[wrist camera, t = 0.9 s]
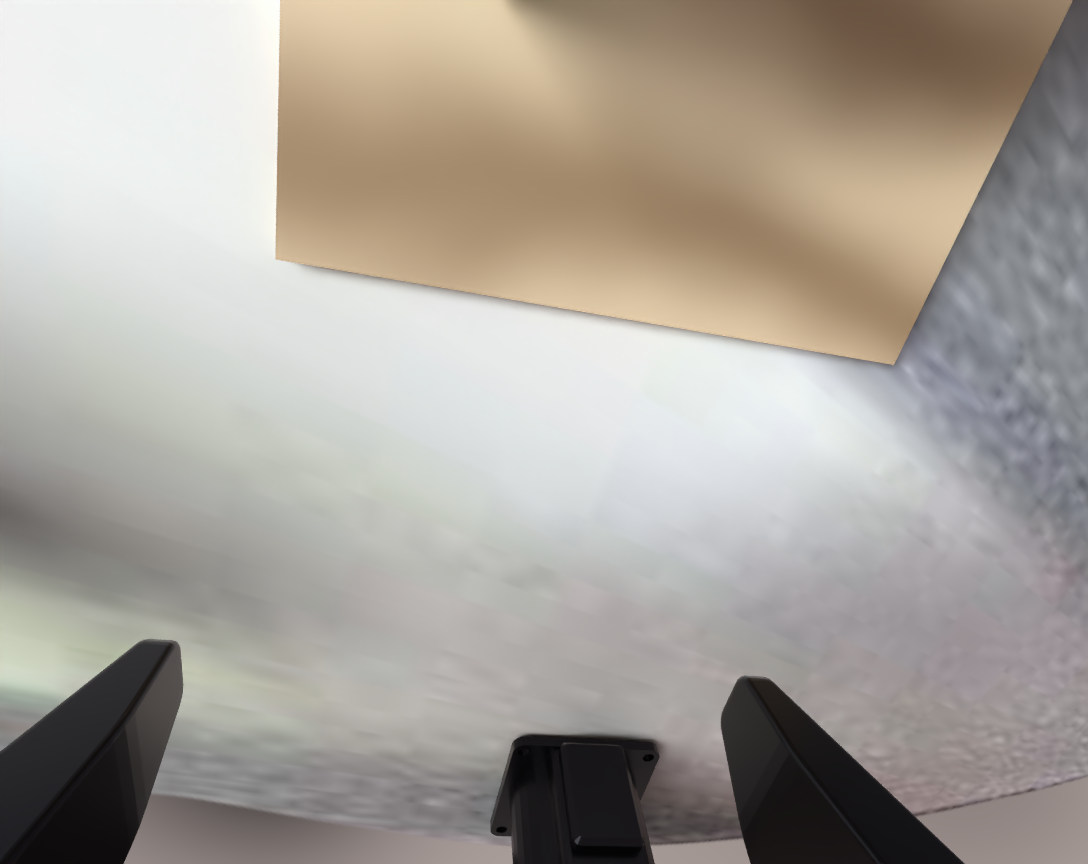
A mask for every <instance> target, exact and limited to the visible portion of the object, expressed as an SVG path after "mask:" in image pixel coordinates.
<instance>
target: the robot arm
mask: <svg viewBox="0 0 1088 864" xmlns="http://www.w3.org/2000/svg"><path fill="white" fill-rule="evenodd" d="M182 693H183V675H182V662H181V650H180V646H179V644H178V643H177V642H176V641H172V640H156V639H146V640H143V641H140V642H139V643H137V644H136V645H134V646H133V647H132V648H131V649H129V650H128V651H127V652H126V653H124V654H123V655H122V656H121V657H119V658H118V659H117V660H116V661H114V662H113V663H112V664H110V665H109V666H108V667H107V668H105V669H104V670H103V671H102V672H100V673H99V674H98V675H97V676H95V677H94V678H93V679H91V680H90V681H89V682H88V683H86V684H85V685H84V686H83V687H81V688H80V689H79V690H78V691H76V692H75V693H74V694H72V695H71V696H70V697H69V698H67V699H66V700H65V701H64V702H62V703H61V704H60V705H59V706H57V707H56V708H55V709H54V710H52V711H51V712H50V713H48V714H47V715H46V716H45V717H43V718H42V719H41V720H40V721H38V722H37V723H36V724H35V725H33V726H32V727H31V728H29V729H28V730H27V731H26V732H24V733H23V734H22V735H21V736H19V737H18V738H17V739H16V740H14V741H13V742H12V743H11V744H9V745H8V746H7V747H5V748H4V749H3V750H2V751H0V864H124V861H125V859H126V857H127V855H128V852H129V850H130V848H131V846H132V843H133V841H134V838H135V836H136V834H137V831H138V829H139V826H140V824H141V821H142V818H143V815H144V812H145V809H146V806H147V803H148V800H149V797H150V794H151V791H152V788H153V785H154V782H155V779H156V776H157V773H158V770H159V767H160V764H161V761H162V758H163V755H164V752H165V749H166V746H167V743H168V740H169V736H170V733H171V730H172V727H173V724H174V721H175V718H176V715H177V712H178V709H179V706H180V703H181V698H182ZM721 730H722V735H723V740H724V745H725V751H726V756H727V761H728V766H729V771H730V776H731V781H732V786H733V791H734V797H735V802H736V807H737V812H738V817H739V822H740V826H741V830H742V835H743V839H744V842H745V846H746V849H747V853H748V856H749V859H750V863H751V864H964V863H963V862H962V861H961V860H960V859H959V858H958V857H957V856H956V855H955V854H954V853H953V852H952V851H951V850H950V849H949V848H947V846H945V845H944V844H943V843H942V842H941V841H940V840H939V839H938V838H937V837H936V836H935V835H934V834H933V833H932V832H931V831H930V830H928V828H926V827H925V826H924V825H923V824H922V823H921V822H920V821H919V820H918V819H917V818H916V817H915V816H914V815H913V814H912V813H911V812H910V811H909V810H908V809H906V808H905V807H904V806H903V805H902V804H901V803H900V802H899V801H898V800H897V799H896V798H895V797H894V796H893V795H892V794H891V793H890V792H889V791H888V790H886V789H885V788H884V787H883V786H882V785H881V784H880V783H879V782H878V781H877V780H876V779H875V778H874V777H873V776H872V775H871V774H870V773H869V772H867V771H866V770H865V769H864V768H863V767H862V766H861V765H860V764H859V763H858V762H857V761H856V760H855V759H854V758H853V757H852V756H851V755H850V754H849V753H847V752H846V751H845V750H844V749H843V748H842V747H841V746H840V745H839V744H838V743H837V742H836V741H835V740H834V739H833V738H832V737H831V736H830V735H829V734H827V733H826V732H825V731H824V730H823V729H822V728H821V727H820V726H819V725H818V724H817V723H816V722H815V721H814V720H813V719H812V718H811V717H810V716H808V715H807V714H806V713H805V712H804V711H803V710H802V709H801V708H800V707H799V706H798V705H797V704H796V703H795V702H794V701H793V700H792V699H791V698H790V697H788V696H787V695H786V694H785V693H784V692H783V691H782V690H781V689H780V688H779V687H778V686H777V685H776V684H775V683H774V682H772V681H771V680H770V679H768V678H766V677H758V676H742V677H740V678H739V679H738V680H737V682H736V684H735V686H734V688H733V690H732V692H731V694H730V696H729V698H728V701H727V703H726V705H725V707H724V709H723V712H722V716H721ZM658 760H659V752H658V748H657V746H656V744H654V743H651V742H634V741H613V740H591V739H569V738H547V737H520V738H517V739H516V740H514V742H513V743H512V746H511V750H510V753H509V757H508V761H507V764H506V768H505V771H504V775H503V778H502V782H501V785H500V789H499V792H498V796H497V800H496V803H495V807H494V810H493V814H492V817H491V833H492V834H494V835H496V836H511V839H512V855H513V864H655V863H654V859H653V855H652V850H651V846H650V842H649V837H648V833H647V829H646V825H645V820H644V816H643V812H642V808H641V803H640V800H641V798H642V795H643V793H644V791H645V789H646V786H647V784H648V782H649V780H650V777H651V775H652V773H653V771H654V769H655V766H656V764H657V762H658Z"/></svg>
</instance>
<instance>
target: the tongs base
mask: <svg viewBox="0 0 1088 864" xmlns="http://www.w3.org/2000/svg"><path fill="white" fill-rule="evenodd" d="M1072 1H1073V0H280V45H279V99H278V153H277V207H276V260H282V261H288V262H294V263H300V264H306V265H312V266H317V267H323V268H329V269H335V270H341V271H347V272H353V273H358V274H364V275H370V276H376V277H382V278H388V279H394V280H399V281H405V282H411V283H417V284H423V285H429V286H435V287H440V288H446V289H452V290H458V291H464V292H470V293H476V294H481V295H487V296H493V297H499V298H505V299H511V300H517V301H522V302H528V303H534V304H540V305H546V306H552V307H558V308H563V309H569V310H575V311H581V312H587V313H593V314H598V315H604V316H610V317H616V318H622V319H628V320H634V321H639V322H645V323H651V324H657V325H663V326H669V327H675V328H680V329H686V330H692V331H698V332H704V333H710V334H716V335H721V336H727V337H733V338H739V339H745V340H751V341H757V342H762V343H768V344H774V345H780V346H786V347H792V348H798V349H803V350H809V351H815V352H821V353H827V354H833V355H839V356H844V357H850V358H856V359H862V360H868V361H874V362H879V363H885V364H891V365H894V364H895V362H896V360H897V358H898V355H899V353H900V351H901V349H902V347H903V345H904V343H905V341H906V339H907V337H908V335H909V333H910V331H911V329H912V327H913V325H914V323H915V321H916V319H917V317H918V315H919V313H920V311H921V309H922V307H923V305H924V303H925V301H926V298H927V296H928V294H929V292H930V290H931V288H932V286H933V284H934V282H935V280H936V278H937V276H938V274H939V272H940V270H941V268H942V266H943V264H944V262H945V260H946V258H947V256H948V254H949V252H950V250H951V248H952V246H953V244H954V242H955V239H956V237H957V235H958V233H959V231H960V229H961V227H962V225H963V223H964V221H965V219H966V217H967V215H968V213H969V211H970V209H971V207H972V205H973V203H974V201H975V199H976V197H977V195H978V193H979V191H980V189H981V187H982V185H983V183H984V180H985V178H986V176H987V174H988V172H989V170H990V168H991V166H992V164H993V162H994V160H995V158H996V156H997V154H998V152H999V150H1000V148H1001V146H1002V144H1003V142H1004V140H1005V138H1006V136H1007V134H1008V132H1009V130H1010V128H1011V126H1012V124H1013V121H1014V119H1015V117H1016V115H1017V113H1018V111H1019V109H1020V107H1021V105H1022V103H1023V101H1024V99H1025V97H1026V95H1027V93H1028V91H1029V89H1030V87H1031V85H1032V83H1033V81H1034V79H1035V77H1036V75H1037V73H1038V71H1039V69H1040V67H1041V64H1042V62H1043V60H1044V58H1045V56H1046V54H1047V52H1048V50H1049V48H1050V46H1051V44H1052V42H1053V40H1054V38H1055V36H1056V34H1057V32H1058V30H1059V28H1060V26H1061V24H1062V22H1063V20H1064V18H1065V16H1066V14H1067V12H1068V10H1069V8H1070V5H1071V3H1072Z"/></svg>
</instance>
